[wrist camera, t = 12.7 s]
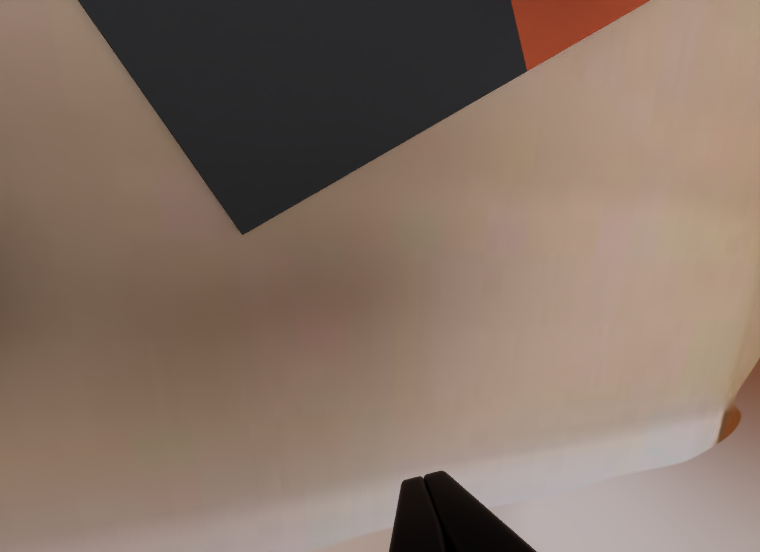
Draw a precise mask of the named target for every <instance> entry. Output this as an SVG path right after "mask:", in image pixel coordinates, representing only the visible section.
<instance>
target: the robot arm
mask: <svg viewBox="0 0 760 552" xmlns="http://www.w3.org/2000/svg"><path fill="white" fill-rule="evenodd" d="M389 552H536V551H535V550H534V549H533V548H532V547H531V546H530V545H528V544H527V543H526V542H525V541H524V540H523V539H521V538H520V537H519V536H518V535H517V534H516V533H515V532H514V531H512V530H511V529H510V528H509V527H508V526H507V525H505V524H504V523H503V522H502V521H501V520H500V519H499V518H498V517H496V516H495V515H494V514H493V513H492V512H491V511H489V510H488V509H487V508H486V507H485V506H484V505H483V504H482V503H480V502H479V501H478V500H477V499H476V498H475V497H474V496H472V495H471V494H470V493H469V492H468V491H467V490H465V489H464V488H463V487H462V486H461V485H460V484H459V483H457V482H456V481H455V480H454V479H453V478H452V477H451V476H449V475H448V474H447V473H446V472H444V471H438V472H434V473H430V474H427V475H425V476H424V479H423V478H422V477H421V476H419V477H415V478H411V479H407V480H404V481H403V482H402V484H401V489H400V494H399V500H398V505H397V511H396V516H395V522H394V527H393V533H392V538H391V543H390V549H389Z"/></svg>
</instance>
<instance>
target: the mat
mask: <svg viewBox="0 0 760 552" xmlns="http://www.w3.org/2000/svg"><path fill="white" fill-rule="evenodd" d="M78 1H79V2H80V3H81V5H82V6H83V8H84V9H85V11H86V12H87V14H88V15H89V16H90V18H91V19H92V21H93V22H94V24H95V25H96V26H97V28H98V29H99V31H100V32H101V34H102V35H103V36H104V38H105V39H106V41H107V42H108V44H109V45H110V46H111V48H112V49H113V51H114V52H115V54H116V55H117V56H118V58H119V59H120V61H121V62H122V64H123V65H124V66H125V68H126V69H127V71H128V72H129V74H130V75H131V76H132V78H133V79H134V81H135V82H136V84H137V85H138V86H139V88H140V89H141V91H142V92H143V94H144V95H145V96H146V98H147V99H148V101H149V102H150V104H151V105H152V106H153V108H154V109H155V111H156V112H157V114H158V115H159V116H160V118H161V119H162V121H163V122H164V124H165V125H166V126H167V128H168V129H169V131H170V132H171V134H172V135H173V136H174V138H175V139H176V141H177V142H178V144H179V145H180V146H181V148H182V149H183V151H184V152H185V154H186V155H187V156H188V158H189V159H190V161H191V162H192V164H193V165H194V166H195V168H196V169H197V171H198V172H199V174H200V175H201V176H202V178H203V179H204V181H205V182H206V184H207V185H208V186H209V188H210V189H211V191H212V192H213V194H214V195H215V196H216V198H217V199H218V201H219V202H220V204H221V205H222V206H223V208H224V209H225V211H226V212H227V214H228V215H229V216H230V218H231V219H232V221H233V222H234V224H235V225H236V226H237V228H238V229H239V231H240V232H241V234H242V235H243V234H245V233H247V232H249V231H250V230H252V229H254V228H256V227H257V226H259V225H261V224H263V223H264V222H266V221H268V220H269V219H271V218H273V217H275V216H276V215H278V214H280V213H282V212H283V211H285V210H287V209H289V208H290V207H292V206H294V205H296V204H297V203H299V202H301V201H302V200H304V199H306V198H308V197H309V196H311V195H313V194H315V193H316V192H318V191H320V190H322V189H323V188H325V187H327V186H329V185H330V184H332V183H334V182H335V181H337V180H339V179H341V178H342V177H344V176H346V175H348V174H349V173H351V172H353V171H355V170H356V169H358V168H360V167H361V166H363V165H365V164H367V163H368V162H370V161H372V160H374V159H375V158H377V157H379V156H381V155H382V154H384V153H386V152H388V151H389V150H391V149H393V148H394V147H396V146H398V145H400V144H401V143H403V142H405V141H407V140H408V139H410V138H412V137H414V136H415V135H417V134H419V133H421V132H422V131H424V130H426V129H427V128H429V127H431V126H433V125H434V124H436V123H438V122H440V121H441V120H443V119H445V118H447V117H448V116H450V115H452V114H454V113H455V112H457V111H459V110H460V109H462V108H464V107H466V106H467V105H469V104H471V103H473V102H474V101H476V100H478V99H480V98H481V97H483V96H485V95H486V94H488V93H490V92H492V91H493V90H495V89H497V88H499V87H500V86H502V85H504V84H506V83H507V82H509V81H511V80H513V79H514V78H516V77H518V76H519V75H521V74H523V73H525V72H526V71H527V69H526V64H525V60H524V56H523V51H522V47H521V43H520V39H519V34H518V30H517V26H516V21H515V17H514V13H513V8H512V4H511V0H78Z"/></svg>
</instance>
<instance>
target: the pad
mask: <svg viewBox="0 0 760 552" xmlns="http://www.w3.org/2000/svg"><path fill="white" fill-rule="evenodd" d="M648 1H650V0H511V4H512V8H513V13H514V17H515V21H516V26H517V30H518V34H519V39H520V43H521V47H522V51H523V56H524V60H525V64H526V69H527V71H528V70H530V69H532V68H533V67H535V66H537V65H539V64H540V63H542V62H544V61H545V60H547V59H549V58H551V57H552V56H554V55H556V54H558V53H559V52H561V51H563V50H565V49H566V48H568V47H570V46H571V45H573V44H575V43H577V42H578V41H580V40H582V39H584V38H585V37H587V36H589V35H591V34H592V33H594V32H596V31H598V30H599V29H601V28H603V27H604V26H606V25H608V24H610V23H611V22H613V21H615V20H617V19H618V18H620V17H622V16H624V15H625V14H627V13H629V12H631V11H632V10H634V9H636V8H637V7H639V6H641V5H643V4H644V3H646V2H648Z"/></svg>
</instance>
